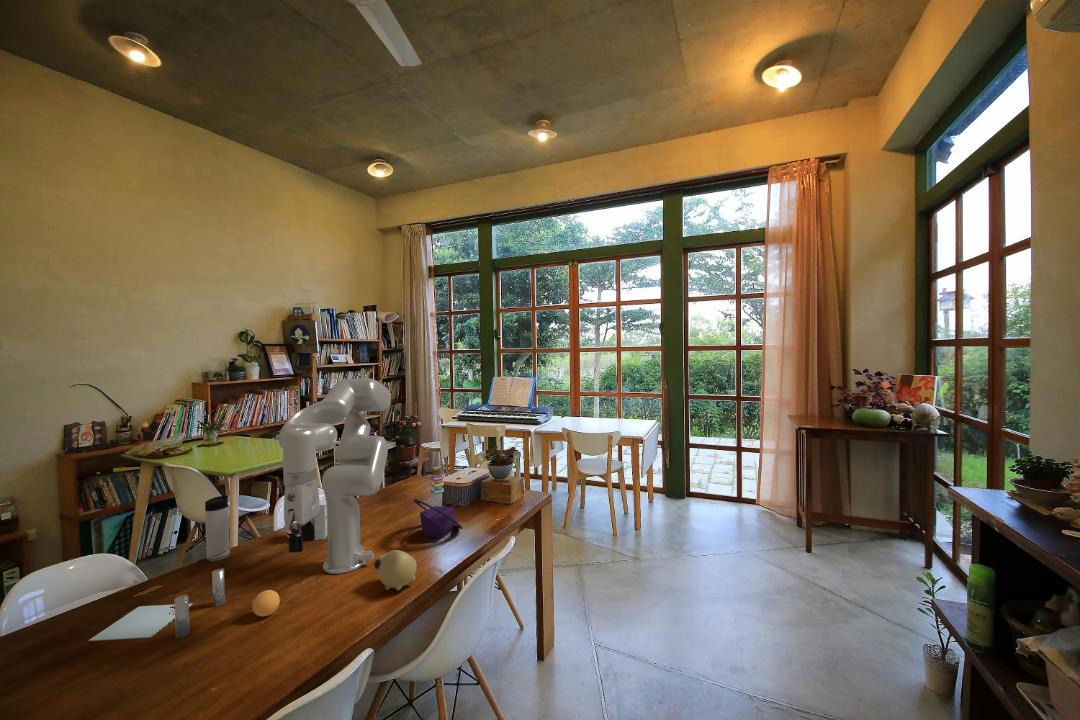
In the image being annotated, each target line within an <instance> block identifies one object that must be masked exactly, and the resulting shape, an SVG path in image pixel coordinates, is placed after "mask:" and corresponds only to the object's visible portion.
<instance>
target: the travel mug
mask: <svg viewBox="0 0 1080 720" xmlns="http://www.w3.org/2000/svg"><path fill="white" fill-rule="evenodd" d="M204 509H205V510H204V515H205V517H204V520H205V521H204V522H205V524H204V525H205V547H206V549H205V550H206V559H207V558H209V557H212V556H214V555H217V554H220V553H222V552H223V551H226V550H228V551H226V552H224V553H222V554H221V555H218V556H215V557H212V558H209V559H211V560H209V561H208V562H218V561H222V560H224V559H227V558H228V557H230V554H231V552H230V551H231V550H230V549H231V548H230V547H231V546H230V521H229V520H230V517H229V516H230V515H229V495H228V494H222V495H221V496H215V497H212V498H210V499H207V500H206V501H205V502H204Z"/></svg>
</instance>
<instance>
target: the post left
mask: <svg viewBox="0 0 1080 720" xmlns="http://www.w3.org/2000/svg"><path fill="white" fill-rule="evenodd" d="M189 599H190V598H189V594H182V595H181V594H180V595H179V596H177V597H174V605H175V619H174V623H175V625H174V627H175V638H176V639H180V638H184V637H186V636H189V634H190V633H191V632H190V631H191V630H190V607H189V604H190V603H189V602H190V601H189Z"/></svg>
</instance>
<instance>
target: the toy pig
mask: <svg viewBox="0 0 1080 720" xmlns="http://www.w3.org/2000/svg"><path fill="white" fill-rule="evenodd" d="M373 566H374V570H375V571H374V572H375V573H376V574H378V576H379V579H380V582H381V583H382V585H384V589H385V591H389V590H390V589H395V590H396V591H400V590H401V589H402V588H403V587H404V586H406V585H407V584H409V583H410V582H415V581H416V576H415V575H416V572H417V561H416V559H415V558H414V557H413V556H412V555H410V554H409V553H407V552H405V551H402V550H399V549H391V550H390V551H389V552H388V553H387V552H386V553H383V554H382V555H380V556H379V557H378V559H377V560H375V562H374V565H373Z"/></svg>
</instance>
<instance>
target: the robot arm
mask: <svg viewBox="0 0 1080 720" xmlns="http://www.w3.org/2000/svg"><path fill="white" fill-rule="evenodd" d="M391 400H392V398H391V393H390V391H389V389H388V387H386V386H385V385H384V384H383V383H381V382H380V381H378V380H376V379H375V378H374V379H373V378H369V377H366V378H365V377H364V378H362V377H361V378H344V379H341V380H338V381H336V383H335V384H334V385H333V386H332V388H331V389H330V390H329V391H328V393H327V394H326V395H325V396H324V398H323V399H322V400H320V401H318V402H315V403H314V404H311V405H309V406H306V407H305V408H302V409H301V410H298V411H297V412H295V413H293V414H292V415H291V416H290V417H289V418H288V419H287V420H286V422H285V423H284V425H283V426H282V427H281V429H280V431H279V434H278V437H277V438H278V445H279V446H280V448H281V449H282V469H283V470H282V473H283V486H284V495H283V496H284V498H283V521H284V526H283V530H284V531H285V533H286V534H287V538H288V552H289V553H301V552H303V551H304V542H313V541H316V540H315V525H314V524H315V516H316V515H317V514H318V513H319V511H320V503H319V500H320V493H319V492H320V491H319V485H318V480H317V479H318V478H317V477H318V475H317V473H318V472H317V471H318V470H317V453H318V452H323V451H327V450H329V449H331V448H332V447H334V445H335V444H336V442H337V440H338V431H337V428H336V427H335V426H334V424H336V423H340V422H342V421H343V422H344V428H343V431H342V433H341V438H340V439H339V440H340V441H339V443H338V446H337V449H336V450H337V451H336V460H337V462H338V463H340V465H334V466H330V467H329V468H327V469H326V470H325V472H324V473H323V474H322V479H321V480H322V482H321V484H322V489H323V493H324V498H325V499H326V507H327V536H326V539H327V560H325V561H324V562H323V563H322V570H323V571H324V572H325V573H327V574H334V575H337V574H338V575H339V574H344V573H346V574H347V573H349V572H352V571H355V570H357V569H359V568H361V567H362V566H363V565H364V564H366V562H367V560H374V558H375V553H374V552H373V550H365V548H364V545H361V521H360V519H361V517H360V514H361V513H360V512H361V511H360V505H359V502H358V501H357V500H356V497H357V496H372V495H375V494H377V493H378V492H379V490H380V489H381V484H382V483H383V482H382V481H383V477H384V474H385V473H384V472H385V468H386V464H387V458H388V455H389V454H388V451H389V448H388V442H387V440H386V439H385V437H383V436H382V435H381V436H380V435H370V432H371V424H370V423H369V421H368V420H367V418H366V417H364V416H363V414H362V413H361V412H363V413H364V412H365V413H367V412H383V411H386V410H387V409H389V408H390V405H391V402H392V401H391ZM354 496H356V497H354ZM295 527H297V528H295Z"/></svg>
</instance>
